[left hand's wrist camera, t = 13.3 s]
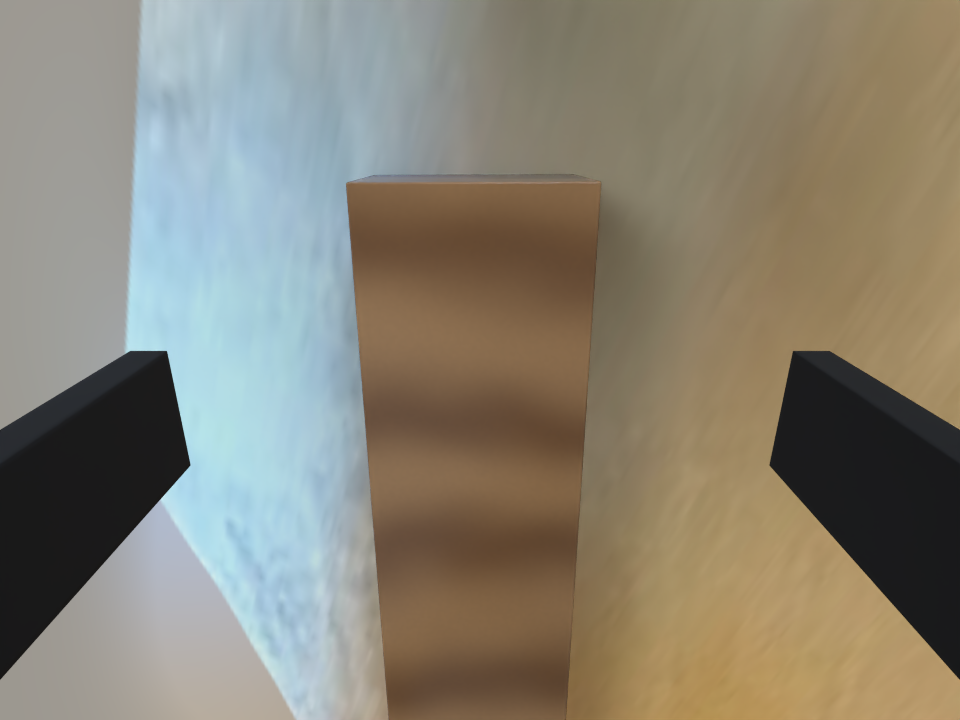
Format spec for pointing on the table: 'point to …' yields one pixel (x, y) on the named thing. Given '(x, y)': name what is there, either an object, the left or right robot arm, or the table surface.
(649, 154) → the table surface
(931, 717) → the table surface
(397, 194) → the thick board
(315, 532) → the table surface
